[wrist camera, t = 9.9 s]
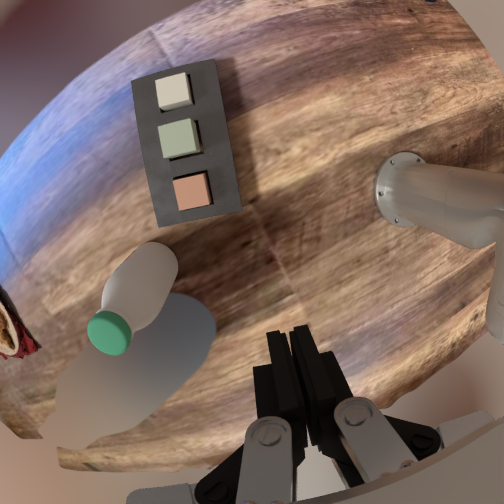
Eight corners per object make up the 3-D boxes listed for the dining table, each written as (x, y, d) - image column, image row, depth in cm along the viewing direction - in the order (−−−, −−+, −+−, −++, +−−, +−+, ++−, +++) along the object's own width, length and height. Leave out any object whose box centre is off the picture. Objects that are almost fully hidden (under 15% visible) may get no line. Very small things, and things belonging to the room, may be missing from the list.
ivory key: (190, 81, 33) (184, 72, 29) (194, 105, 34) (189, 99, 30) (163, 88, 33) (155, 80, 29) (167, 112, 34) (159, 107, 30)
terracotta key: (206, 172, 38) (203, 173, 33) (212, 199, 39) (209, 204, 35) (179, 178, 38) (172, 180, 33) (185, 205, 39) (179, 210, 35)
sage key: (195, 123, 33) (190, 118, 29) (200, 151, 34) (195, 150, 30) (166, 130, 33) (157, 126, 29) (171, 158, 34) (163, 158, 30)
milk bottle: (154, 230, 40) (96, 288, 21) (189, 266, 42) (158, 346, 23) (124, 261, 41) (62, 329, 22) (157, 295, 44) (116, 378, 25)
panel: (215, 64, 33) (214, 58, 30) (242, 207, 40) (242, 210, 37) (137, 85, 33) (131, 80, 30) (163, 223, 40) (158, 227, 37)
